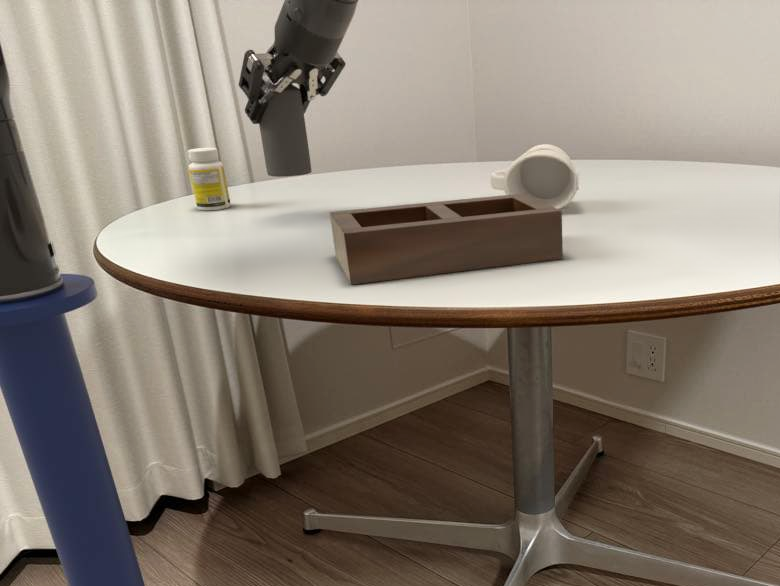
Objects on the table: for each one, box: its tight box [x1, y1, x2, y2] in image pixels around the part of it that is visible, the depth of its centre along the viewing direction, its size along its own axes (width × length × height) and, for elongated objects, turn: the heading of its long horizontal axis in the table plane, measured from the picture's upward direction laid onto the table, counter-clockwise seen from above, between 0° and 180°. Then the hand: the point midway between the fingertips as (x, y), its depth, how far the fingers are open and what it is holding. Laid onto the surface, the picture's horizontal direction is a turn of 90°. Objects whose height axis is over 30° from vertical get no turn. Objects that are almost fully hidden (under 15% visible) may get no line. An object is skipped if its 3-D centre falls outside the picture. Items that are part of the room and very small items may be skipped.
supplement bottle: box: [187, 147, 232, 211], centre depth 116 cm, size 5×5×8 cm
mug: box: [489, 143, 580, 210], centre depth 107 cm, size 12×9×8 cm
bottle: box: [255, 52, 312, 178], centre depth 104 cm, size 6×6×15 cm
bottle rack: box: [329, 194, 564, 286], centre depth 83 cm, size 12×22×5 cm, turn 110°
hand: (273, 116), depth 105 cm, fingers closed on bottle, 6 cm apart
